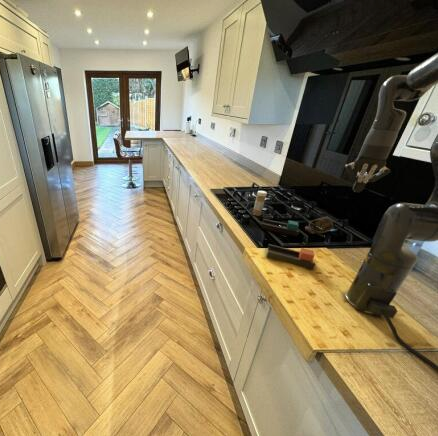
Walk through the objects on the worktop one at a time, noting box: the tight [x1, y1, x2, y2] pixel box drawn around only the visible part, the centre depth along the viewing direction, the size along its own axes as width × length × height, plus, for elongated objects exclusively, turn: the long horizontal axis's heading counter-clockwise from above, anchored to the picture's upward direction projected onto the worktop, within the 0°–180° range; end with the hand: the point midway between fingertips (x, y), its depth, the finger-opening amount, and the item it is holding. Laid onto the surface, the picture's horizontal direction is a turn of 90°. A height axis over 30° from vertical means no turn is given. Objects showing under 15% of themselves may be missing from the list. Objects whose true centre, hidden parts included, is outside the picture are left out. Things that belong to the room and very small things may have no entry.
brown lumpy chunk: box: [304, 216, 335, 235], centre depth 115 cm, size 7×13×10 cm
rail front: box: [265, 243, 316, 271], centre depth 93 cm, size 7×16×3 cm, turn 62°
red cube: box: [299, 247, 315, 262], centre depth 90 cm, size 4×4×4 cm
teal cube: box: [286, 219, 300, 231], centre depth 112 cm, size 4×4×4 cm
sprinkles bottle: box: [252, 190, 268, 217], centre depth 129 cm, size 5×5×13 cm
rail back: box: [260, 218, 300, 238], centre depth 115 cm, size 7×16×3 cm, turn 62°
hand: (356, 191), depth 87 cm, fingers closed
